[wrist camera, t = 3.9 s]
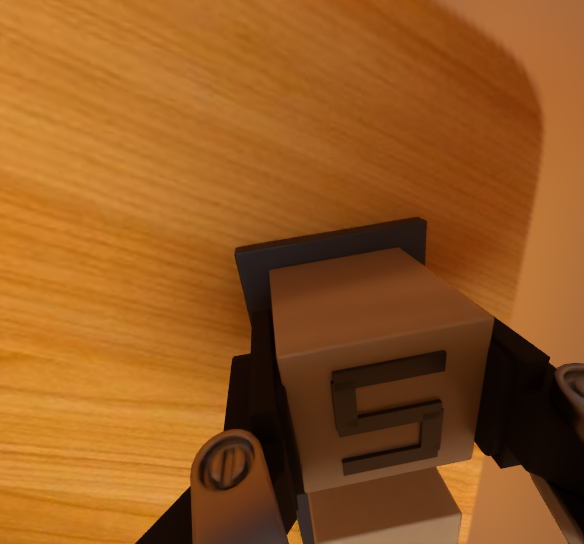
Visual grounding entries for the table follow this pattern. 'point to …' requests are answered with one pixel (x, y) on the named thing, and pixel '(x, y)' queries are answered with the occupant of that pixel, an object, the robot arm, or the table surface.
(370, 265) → the letter s block
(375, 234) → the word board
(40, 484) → the table surface
